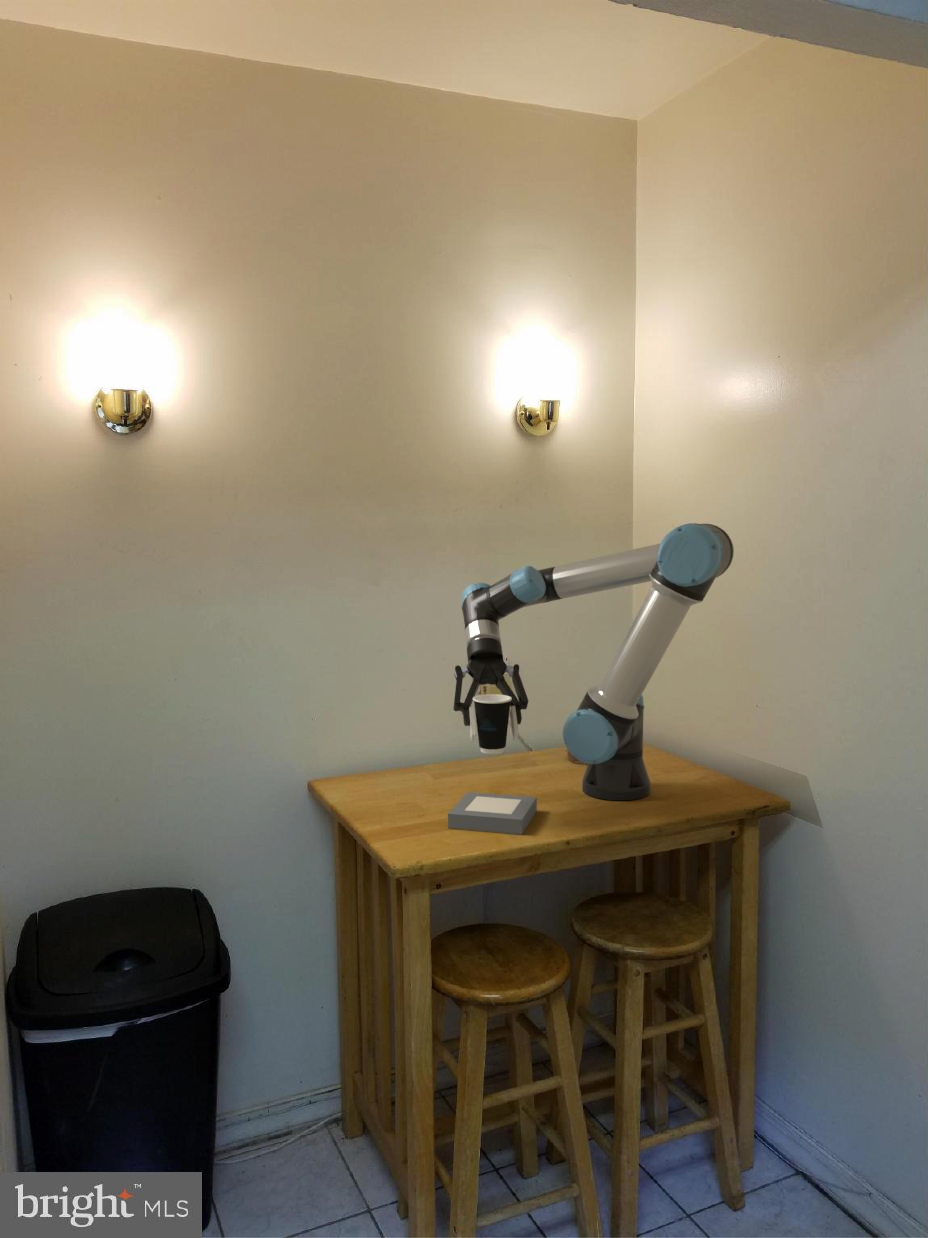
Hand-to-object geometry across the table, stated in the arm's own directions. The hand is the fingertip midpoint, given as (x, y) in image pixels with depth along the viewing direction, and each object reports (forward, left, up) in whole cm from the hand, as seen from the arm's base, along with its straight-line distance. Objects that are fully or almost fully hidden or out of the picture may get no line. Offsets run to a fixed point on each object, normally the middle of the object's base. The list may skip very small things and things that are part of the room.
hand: (494, 737), depth 184 cm
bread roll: (-10, -54, -18) cm, 58 cm away
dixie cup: (+1, -3, -4) cm, 5 cm away
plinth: (+1, -3, -18) cm, 18 cm away
